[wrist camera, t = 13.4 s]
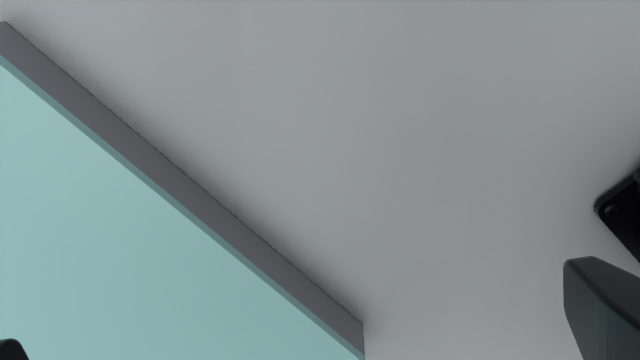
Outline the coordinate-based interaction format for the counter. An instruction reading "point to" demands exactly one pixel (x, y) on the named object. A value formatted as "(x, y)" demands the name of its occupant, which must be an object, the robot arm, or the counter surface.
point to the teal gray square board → (133, 243)
